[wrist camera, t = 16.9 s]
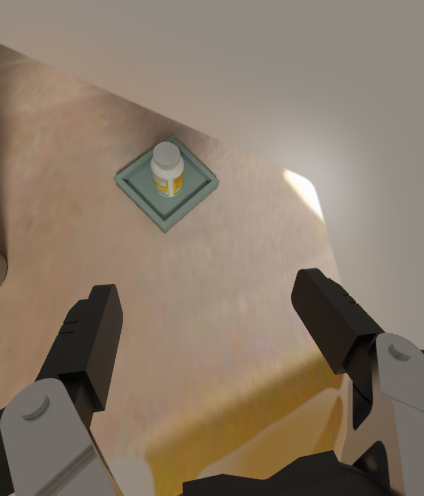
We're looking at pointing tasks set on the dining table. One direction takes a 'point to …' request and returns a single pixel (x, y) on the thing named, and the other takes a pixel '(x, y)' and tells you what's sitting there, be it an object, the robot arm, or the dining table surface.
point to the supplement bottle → (167, 169)
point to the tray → (160, 207)
